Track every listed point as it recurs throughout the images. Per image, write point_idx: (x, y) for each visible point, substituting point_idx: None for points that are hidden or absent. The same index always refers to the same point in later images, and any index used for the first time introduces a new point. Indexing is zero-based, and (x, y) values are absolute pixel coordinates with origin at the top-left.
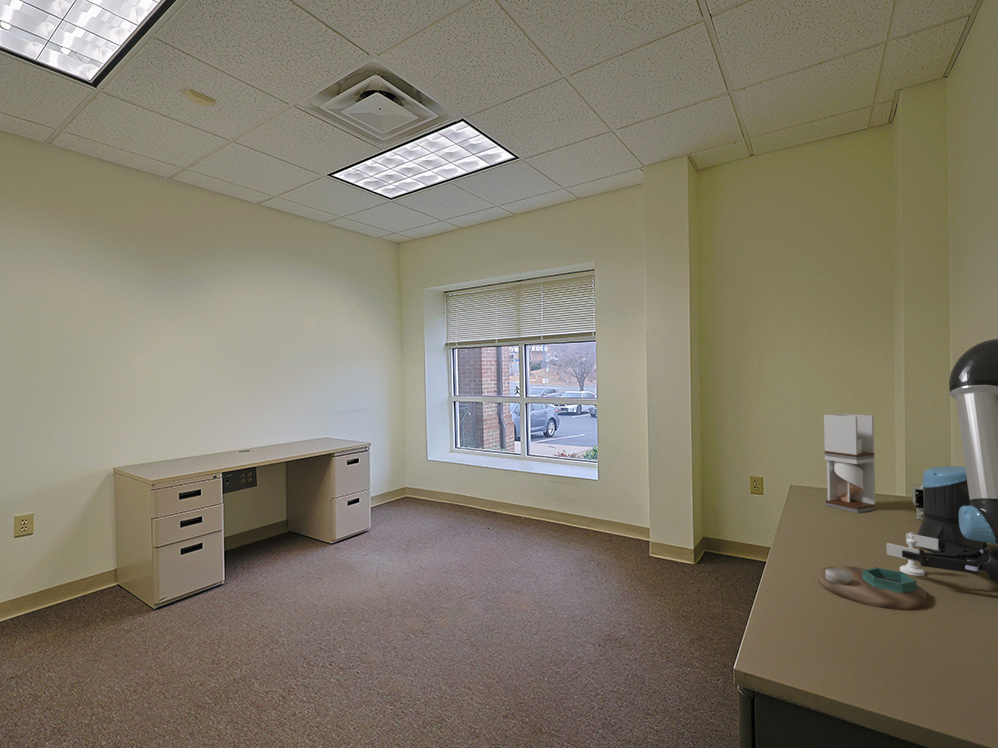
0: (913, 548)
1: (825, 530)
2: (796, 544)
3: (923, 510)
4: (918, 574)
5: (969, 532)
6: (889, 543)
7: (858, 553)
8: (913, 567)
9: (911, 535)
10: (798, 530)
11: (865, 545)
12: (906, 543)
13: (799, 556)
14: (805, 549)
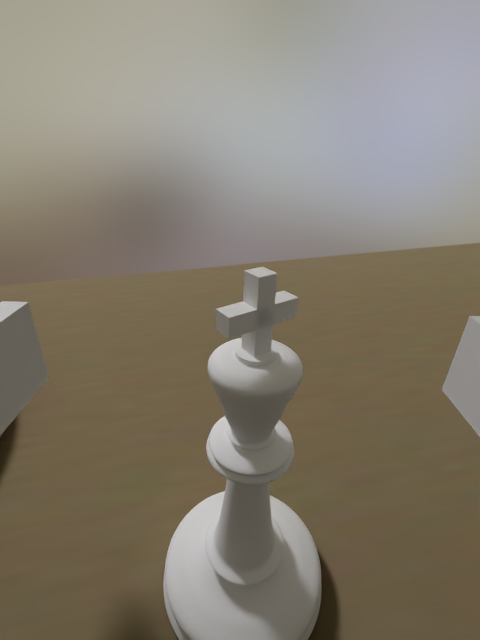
0: (241, 441)
1: (433, 281)
2: (228, 278)
3: None
4: (182, 631)
5: None
6: (16, 308)
7: (309, 352)
8: (213, 560)
9: (231, 305)
10: (354, 264)
11: (436, 345)
12: (443, 390)
13: (117, 295)
14: (201, 290)
